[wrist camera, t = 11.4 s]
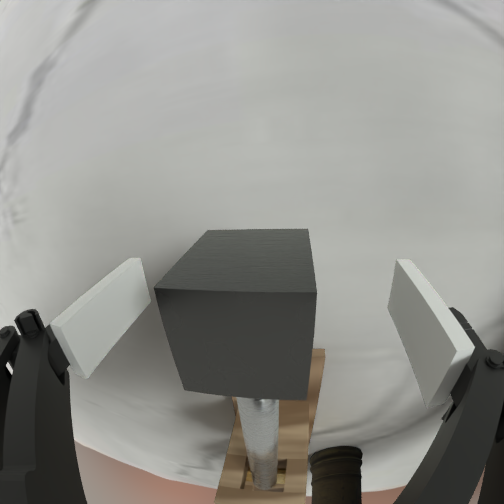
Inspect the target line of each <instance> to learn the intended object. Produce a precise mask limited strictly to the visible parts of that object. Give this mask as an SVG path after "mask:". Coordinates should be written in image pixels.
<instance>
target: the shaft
mask: <svg viewBox="0 0 504 504" xmlns="http://www.w3.org/2000/svg"><path fill="white" fill-rule="evenodd" d="M154 290H155V294H156V298H157V302H158V306H159V310H160V314H161V317H162V321H163V324H164V328H165V331H166V335H167V338H168V341H169V345H170V348H171V351H172V354H173V357H174V360H175V364H176V367H177V369H178V372H179V375H180V378H181V381H182V384H183V387H184V389H185V390H187V391H193V392H200V393H207V394H215V395H223V396H232V397H236V398H237V404H238V409H239V415H240V420H241V426H242V431H243V436H244V441H245V446H246V451H247V456H248V461H249V466H250V470H251V475H252V480H253V484H254V485H255V486H256V487H257V488H258V489H261V490H268V489H271V488H273V487H274V486H275V485H276V483H277V465H278V427H279V400H307V393H308V385H309V377H310V368H311V359H312V349H313V338H314V327H315V314H316V299H317V289H316V281H315V273H314V266H313V259H312V252H311V245H310V239H309V232H308V229H246V230H208V231H207V232H206V233H205V234H204V235H203V236H202V237H201V238H200V239H199V240H198V241H197V242H196V243H195V244H194V245H193V246H192V247H191V248H190V249H189V250H188V251H187V252H186V253H185V255H184V256H183V257H182V258H181V259H180V260H179V261H178V262H177V263H176V264H175V265H174V266H173V267H172V268H171V270H170V271H169V272H168V273H167V274H166V275H165V276H164V277H163V278H162V279H161V280H160V282H159V283H158V284H157V285H156V286H155V287H154Z"/></svg>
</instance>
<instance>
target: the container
mask: <svg viewBox="0 0 504 504" xmlns="http://www.w3.org/2000/svg"><path fill="white" fill-rule="evenodd" d="M361 459H362V452H361V450H360V449H359V448H356V447H352V446H340V447H333V448H328V449H325V450H322V451H319V452H317V453H315V454H314V455H313V456H312V457H311V459H310V465H311V468H310V471H311V473H312V482H311V485H312V504H362V503H361V478H362V476H361V469H360V467H361V465H362V460H361Z"/></svg>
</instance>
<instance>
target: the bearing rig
mask: <svg viewBox="0 0 504 504" xmlns="http://www.w3.org/2000/svg"><path fill="white" fill-rule="evenodd" d="M324 362H325V349H312V359H311V368H310V377H309V385H308V393H307V400H279V427H278V465H277V468H286V476H285V484H276V485H275V486H274V487H273V488H271V489H268V490H261V489H258V488H257V487H256V486H255V485H254V484H253V482H250V481H246V477H247V472H248V467H249V461H248V456H247V451H246V446H245V441H244V436H243V431H242V426H241V420H240V415H239V409H238V404H237V398H236V397H232V401H233V406H234V411H235V416H236V419H235V423H234V427H233V431H232V435H231V439H230V443H229V447H228V451H227V455H226V459H225V463H224V466H223V470H222V474H221V478H220V482H219V486H218V489H217V493H216V497H215V501H214V503H215V504H305V498H306V484H307V466H308V446H309V442H310V437H311V433H312V428H313V423H314V419H315V414H316V409H317V403H318V398H319V392H320V387H321V381H322V375H323V368H324Z"/></svg>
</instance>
